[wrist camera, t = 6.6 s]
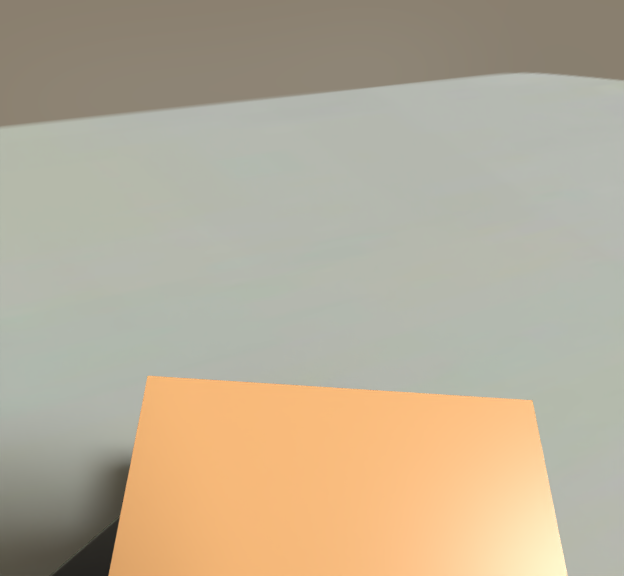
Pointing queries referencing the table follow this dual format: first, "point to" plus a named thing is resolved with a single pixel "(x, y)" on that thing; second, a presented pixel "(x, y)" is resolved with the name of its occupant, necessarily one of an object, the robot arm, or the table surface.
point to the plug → (333, 484)
